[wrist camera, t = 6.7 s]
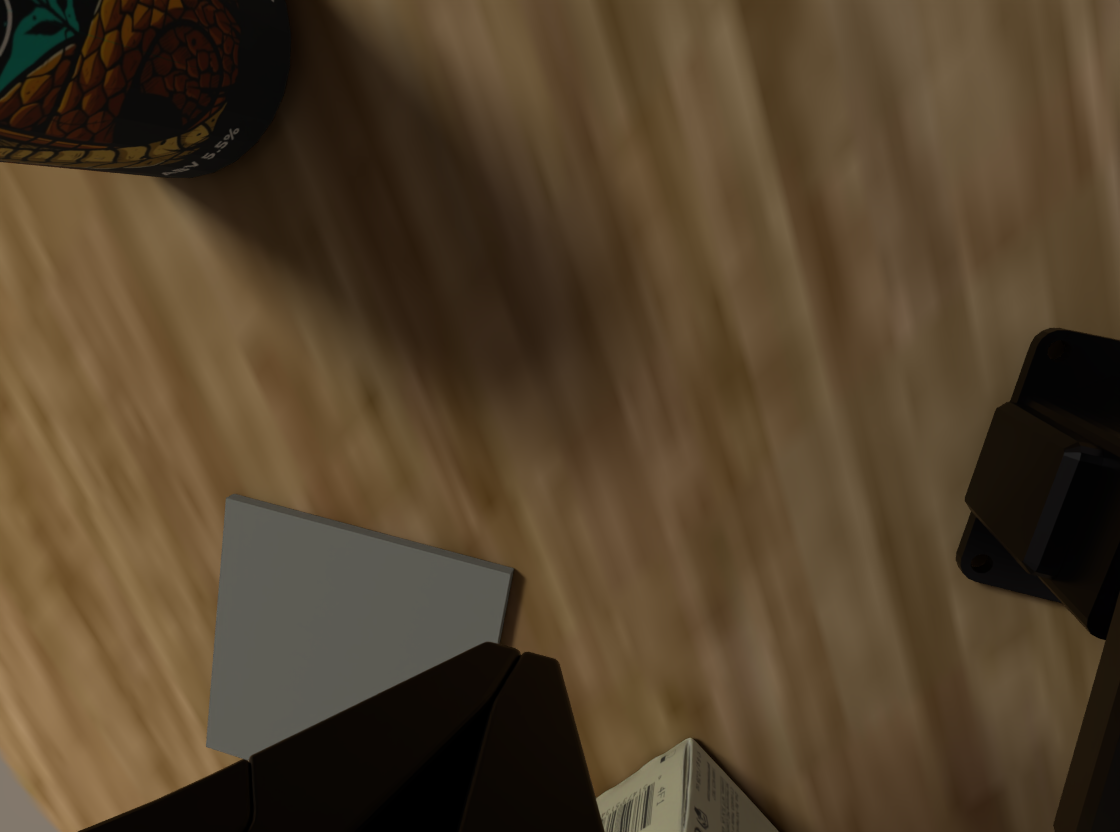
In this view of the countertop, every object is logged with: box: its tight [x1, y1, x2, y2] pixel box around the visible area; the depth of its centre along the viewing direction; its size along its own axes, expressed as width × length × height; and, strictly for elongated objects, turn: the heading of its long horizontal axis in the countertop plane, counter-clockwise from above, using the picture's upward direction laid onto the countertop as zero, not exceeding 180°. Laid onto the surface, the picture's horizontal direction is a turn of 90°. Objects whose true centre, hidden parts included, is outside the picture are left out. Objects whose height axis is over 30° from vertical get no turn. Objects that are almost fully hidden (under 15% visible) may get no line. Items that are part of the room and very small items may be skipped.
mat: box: [206, 494, 514, 760], centre depth 24 cm, size 9×9×1 cm
